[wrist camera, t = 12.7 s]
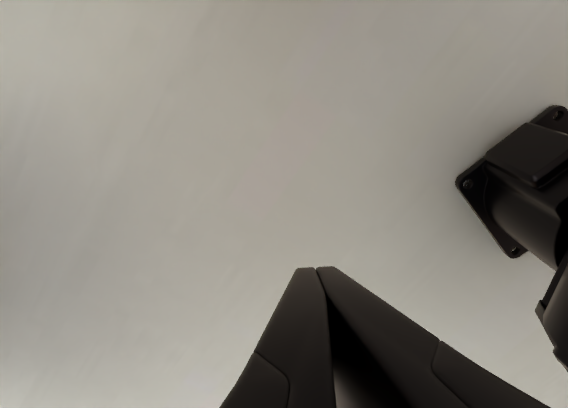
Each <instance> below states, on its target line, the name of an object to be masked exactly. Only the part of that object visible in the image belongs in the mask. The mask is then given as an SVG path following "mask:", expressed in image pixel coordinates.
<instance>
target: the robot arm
mask: <svg viewBox="0 0 568 408" xmlns="http://www.w3.org/2000/svg"><path fill="white" fill-rule="evenodd" d="M556 112H558V115H557V117H556V118H555V119H554V114H555V113H556ZM466 180H469V182H468V184H467V185H466V186H463V183H464V182H465V181H466ZM455 185H456V188H457V189H458V190H459V192H460V193H461V194H462V196H463V197H464V199H465V200H466V201H467V203H468V204H469V205H470V207H471V208H472V209H473V211H474V212H475V214H476V215H477V216H478V218H479V219H480V220H481V222H482V223H483V225H484V226H485V227H486V229H487V230H488V231H489V233H490V234H491V235H492V237H493V238H494V240H495V241H496V242H497V244H498V245H499V246H500V248H501V249H502V250H503V252H504V253H505V254H506V255H507V256H509V257H510V258H517V257H520V256H521V255H522V254H524V253H525V252H527V251H528V250H529V251H530V252H531V253H533V254H534V255H535V256H536V257H538V258H539V259H540V260H542V261H543V262H544V263H546V264H547V265H548V266H549V267H551V268H552V269H553V270H555V271H556V273H555V275H554V277H553V279H552V281H551V283H550V285H549V288H548V290H547V292H546V294H545V296H544V298H543V300H540V301H539V302H538V305H537V307H536V309H535V312H536V314H537V316H538V318H539V320H540V321H541V323H542V325H543V327H544V329H545V331H546V333H547V335H548V337H549V339H550V340H551V342H552V344H553V346H554V350H553V353H554V355H555V357H556V358H557V360H558V361H559V362H560V363H561V364H562V365H563V366H564V367H565V369H566V370H567V372H568V110H567V109H566V108H565V107H563V106H559V105H552V106H550V107H549V108H547V109H546V110H545V111H543V112H542V113H541V114H539V115H538V116H537V117H536V118H534V119H533V120H532V121H530V122H529V123H525V124H523V125H522V126H521V127H519V128H518V129H517V130H515V131H514V132H513V133H511V134H510V135H509V136H507V137H506V138H505V139H504V140H502V141H501V142H500V143H498V144H497V145H496V146H494V147H493V148H492V149H490V150H489V151H488V152H487V153H486V155H485V156H484V157H483V158H482V159H480V160H479V161H478V162H476V163H475V164H474V165H472V166H471V167H470V168H469V169H467V170H466V171H465V172H463V173H462V174H461V175H459V176H458V177H457V179H456V181H455ZM515 247H516V248H515ZM513 248H515V250H514V251H512V249H513ZM219 408H550V407H549V406H547V405H545V404H543V403H542V402H540V401H538V400H536V399H535V398H533V397H531V396H529V395H528V394H526V393H524V392H523V391H521V390H519V389H517V388H516V387H514V386H512V385H510V384H509V383H507V382H505V381H504V380H502V379H500V378H499V377H497V376H495V375H494V374H492V373H490V372H489V371H487V370H485V369H484V368H482V367H481V366H479V365H477V364H476V363H474V362H473V361H471V360H470V359H468V358H467V357H465V356H464V355H462V354H461V353H459V352H458V351H456V350H455V349H453V348H452V347H450V346H449V345H447V344H446V343H445V342H443V341H440V340H439V338H437V337H436V336H434V335H433V334H431V333H430V332H428V331H427V330H425V329H424V328H423V327H421V326H420V325H418V324H417V323H415V322H414V321H412V320H411V319H410V318H408V317H407V316H405V315H404V314H402V313H401V312H399V311H398V310H396V309H395V308H394V307H392V306H391V305H389V304H388V303H386V302H385V301H383V300H382V299H380V298H379V297H378V296H376V295H375V294H373V293H372V292H370V291H369V290H367V289H366V288H365V287H363V286H362V285H360V284H359V283H357V282H356V281H354V280H353V279H351V278H350V277H349V276H347V275H346V274H344V273H343V272H341V271H340V270H338V269H337V268H335V267H333V266H329V267H318V268H316V270H315V268H313V267H309V268H297V269H296V270H295V272H294V274H293V276H292V278H291V280H290V282H289V284H288V286H287V288H286V290H285V292H284V294H283V296H282V297H281V299H280V301H279V303H278V305H277V307H276V309H275V311H274V313H273V315H272V317H271V319H270V321H269V323H268V325H267V327H266V328H265V330H264V332H263V334H262V336H261V338H260V340H259V342H258V344H257V346H256V348H255V350H254V353H253V354H252V355H251V357H250V359H249V361H248V363H247V365H246V367H245V368H244V370H243V372H242V374H241V375H240V377H239V379H238V381H237V382H236V384H235V386H234V387H233V389H232V390H231V391H230V393H229V394H228V396H227V397H226V399H225V400H224V402H223V403H222V405H221V406H220V407H219Z"/></svg>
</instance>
